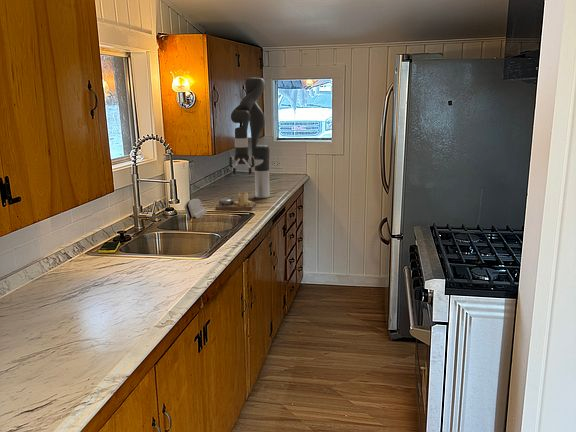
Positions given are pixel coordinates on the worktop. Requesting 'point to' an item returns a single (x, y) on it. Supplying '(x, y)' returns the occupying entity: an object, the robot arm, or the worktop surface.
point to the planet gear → (243, 200)
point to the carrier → (235, 207)
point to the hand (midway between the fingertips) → (242, 174)
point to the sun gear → (226, 202)
